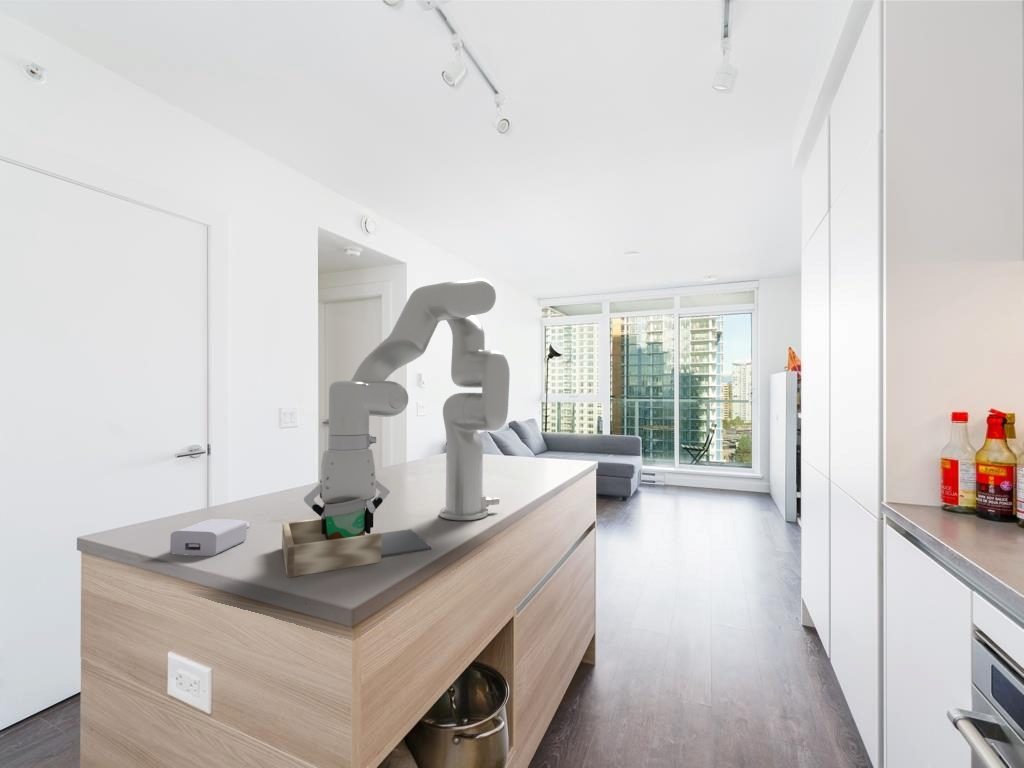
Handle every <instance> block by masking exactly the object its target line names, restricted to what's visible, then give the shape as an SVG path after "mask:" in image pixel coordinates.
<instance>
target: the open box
mask: <svg viewBox="0 0 1024 768" xmlns="http://www.w3.org/2000/svg"><path fill="white" fill-rule="evenodd" d="M321 520H322V517H321V518H314V519H312V518H311V519H305V520H304V519H303V520H295V521H288V522H287V521H286V522H282V537H281V539H282V540H281V541H282V543H281V550H282V554H283V560H284V566H285V567H284V568H285V572H286V578H294V577H298V576H300V577H301V576H305V575H311V574H318V573H323V572H329V571H334V570H342V569H348V568H352V567H353V568H354V567H358V566H365V565H369V564H370V565H371V564H376V563H381V562H382V557H381V537H382V534H381V533H382V532H378V533H370V534H365V535H362V536H355V537H348V538H341V539H333V540H326V538H325V534H323V535H322V533H321Z"/></svg>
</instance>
